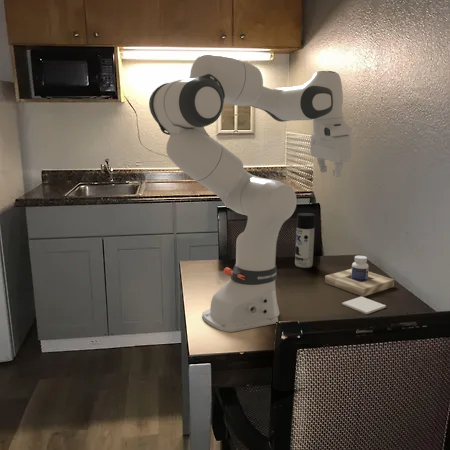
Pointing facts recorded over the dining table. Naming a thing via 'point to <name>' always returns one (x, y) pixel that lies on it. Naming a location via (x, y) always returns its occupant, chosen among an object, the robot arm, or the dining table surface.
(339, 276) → the socket block
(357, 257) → the pill bottle
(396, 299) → the dining table surface
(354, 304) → the pad
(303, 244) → the spray can
